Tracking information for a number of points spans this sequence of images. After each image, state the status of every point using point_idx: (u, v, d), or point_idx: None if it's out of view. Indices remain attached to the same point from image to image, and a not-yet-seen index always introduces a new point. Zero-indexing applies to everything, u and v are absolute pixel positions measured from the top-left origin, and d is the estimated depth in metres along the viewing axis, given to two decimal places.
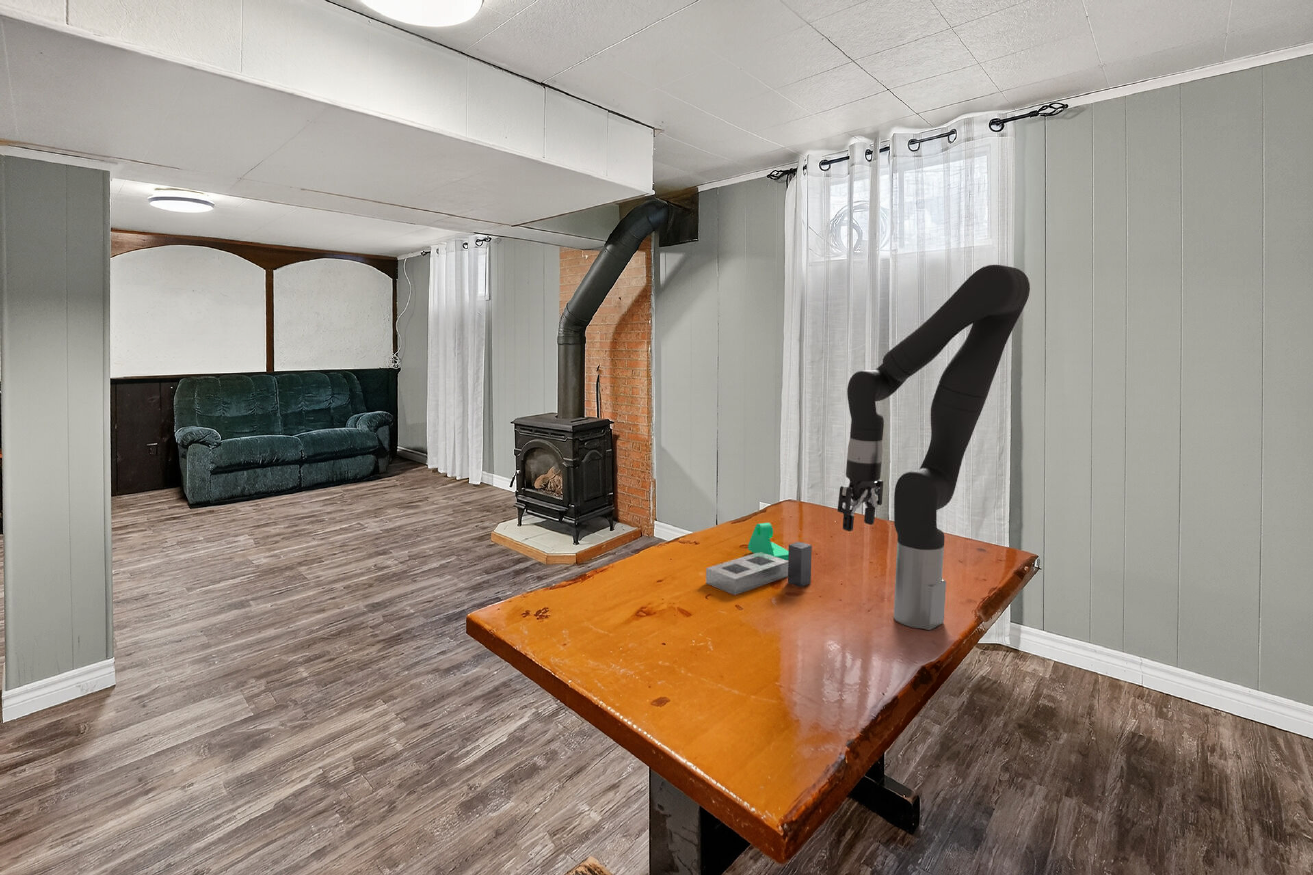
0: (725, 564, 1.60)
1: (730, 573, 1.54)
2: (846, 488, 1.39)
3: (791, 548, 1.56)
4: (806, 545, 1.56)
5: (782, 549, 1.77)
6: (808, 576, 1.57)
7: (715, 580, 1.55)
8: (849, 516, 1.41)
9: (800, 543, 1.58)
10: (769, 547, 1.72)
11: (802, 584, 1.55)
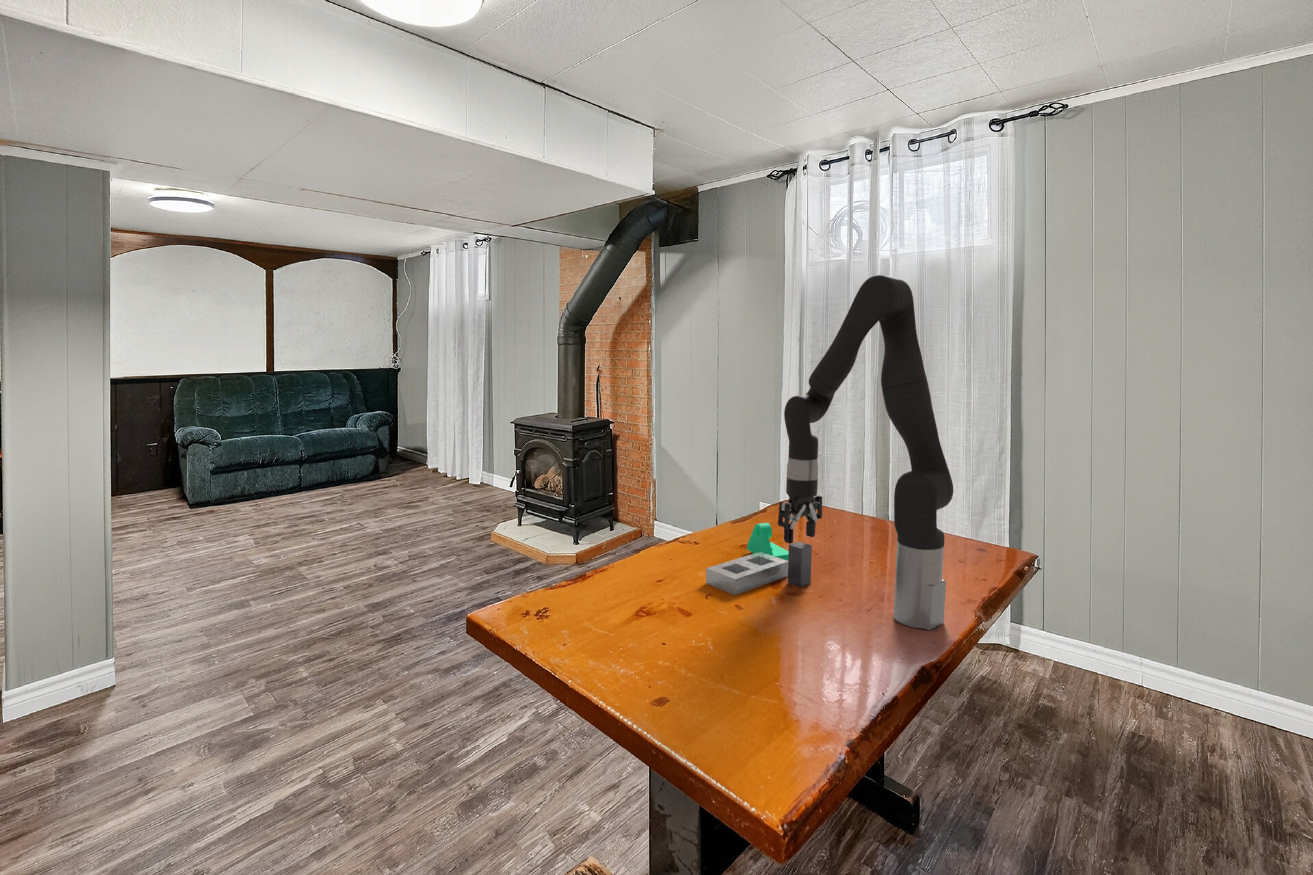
0: (725, 564, 1.60)
1: (730, 573, 1.54)
2: (784, 504, 1.51)
3: (791, 548, 1.56)
4: (806, 545, 1.56)
5: (781, 549, 1.77)
6: (808, 576, 1.57)
7: (715, 580, 1.55)
8: (789, 529, 1.52)
9: (800, 543, 1.58)
10: (768, 547, 1.72)
11: (802, 584, 1.55)
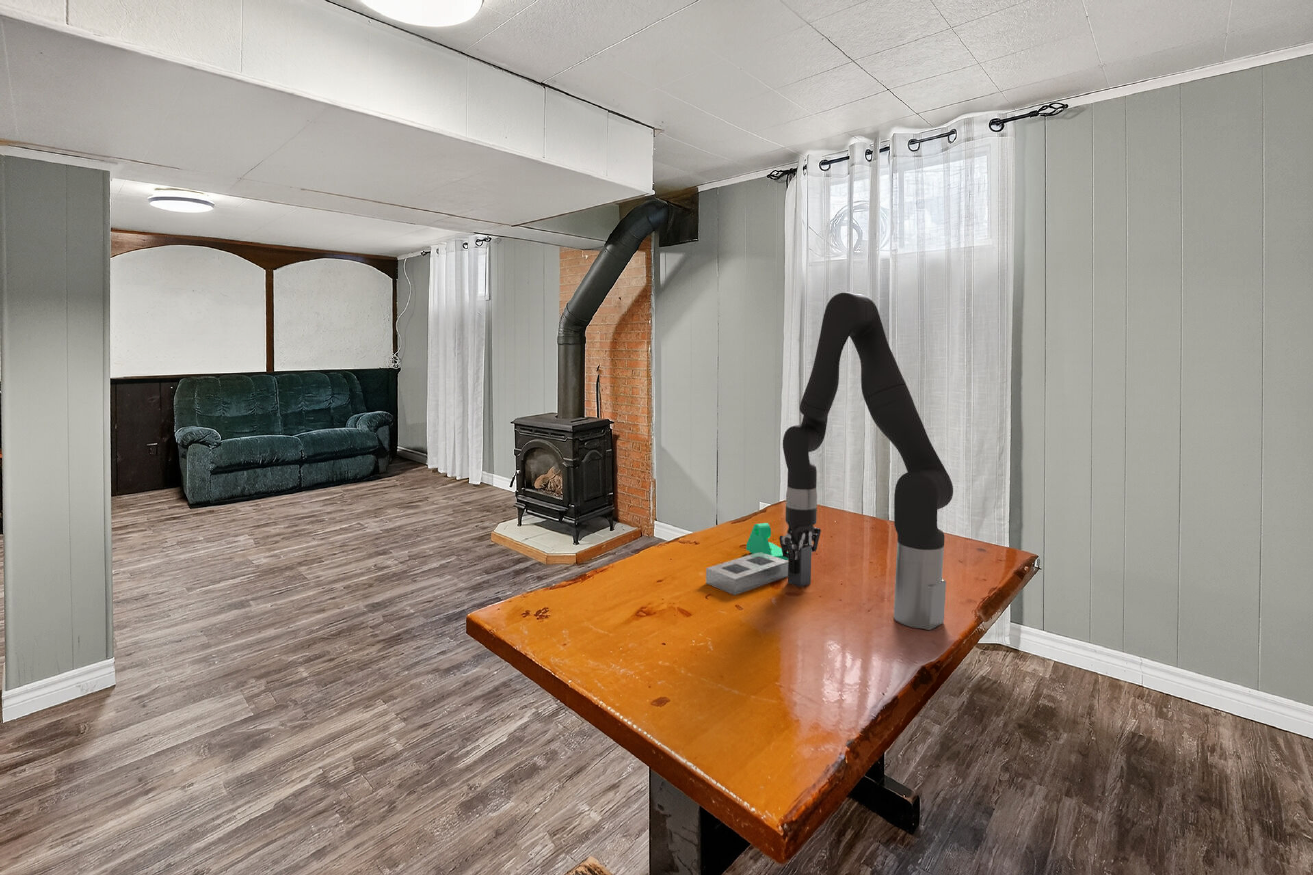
0: (725, 564, 1.60)
1: (730, 573, 1.54)
2: (784, 538, 1.52)
3: None
4: (806, 545, 1.56)
5: (780, 549, 1.77)
6: (808, 576, 1.57)
7: (715, 580, 1.55)
8: (794, 560, 1.55)
9: None
10: (767, 547, 1.72)
11: (802, 584, 1.56)
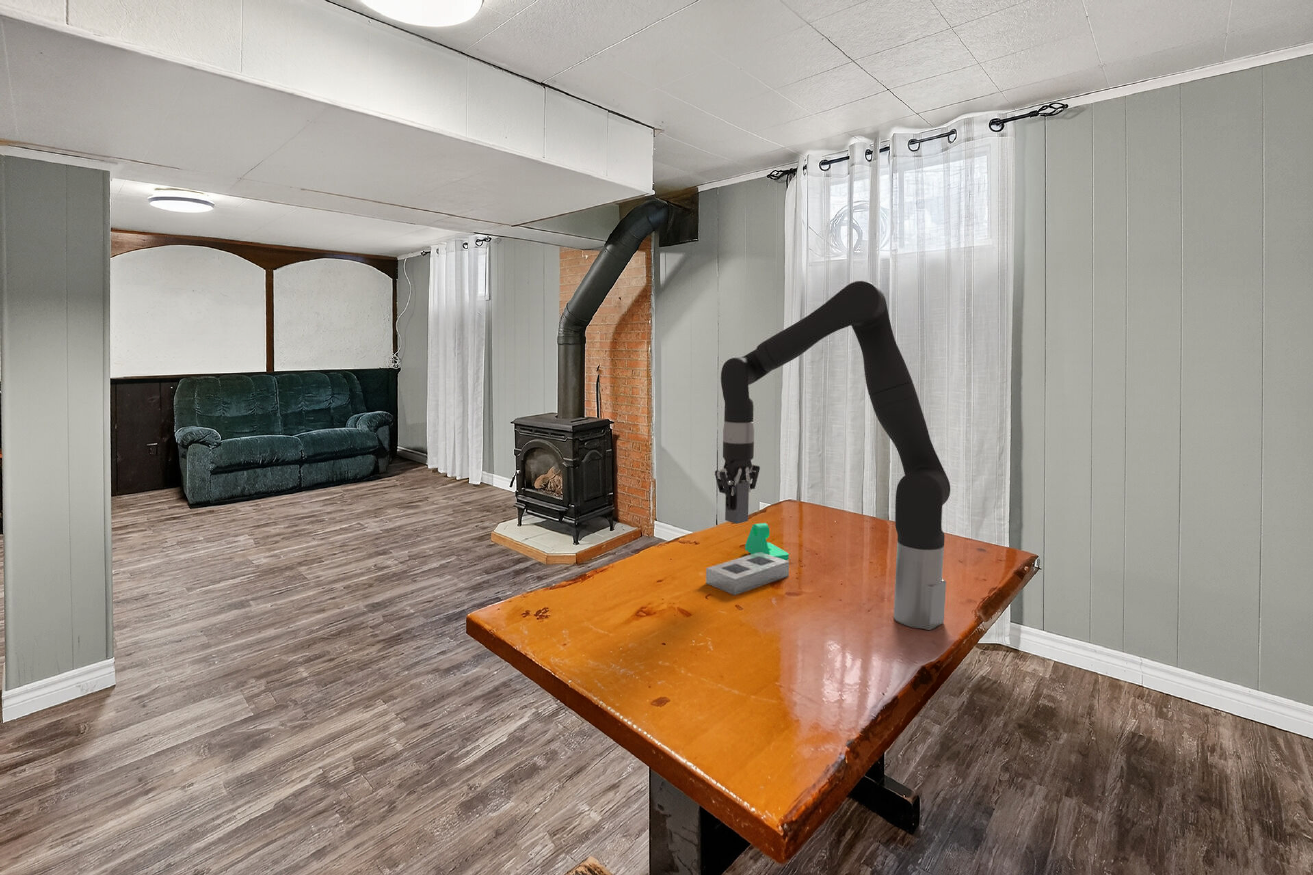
0: (725, 564, 1.60)
1: (730, 573, 1.54)
2: (719, 473, 1.50)
3: None
4: (743, 481, 1.54)
5: (779, 549, 1.77)
6: (745, 513, 1.55)
7: (715, 580, 1.55)
8: (730, 496, 1.52)
9: None
10: (765, 547, 1.72)
11: (738, 521, 1.53)
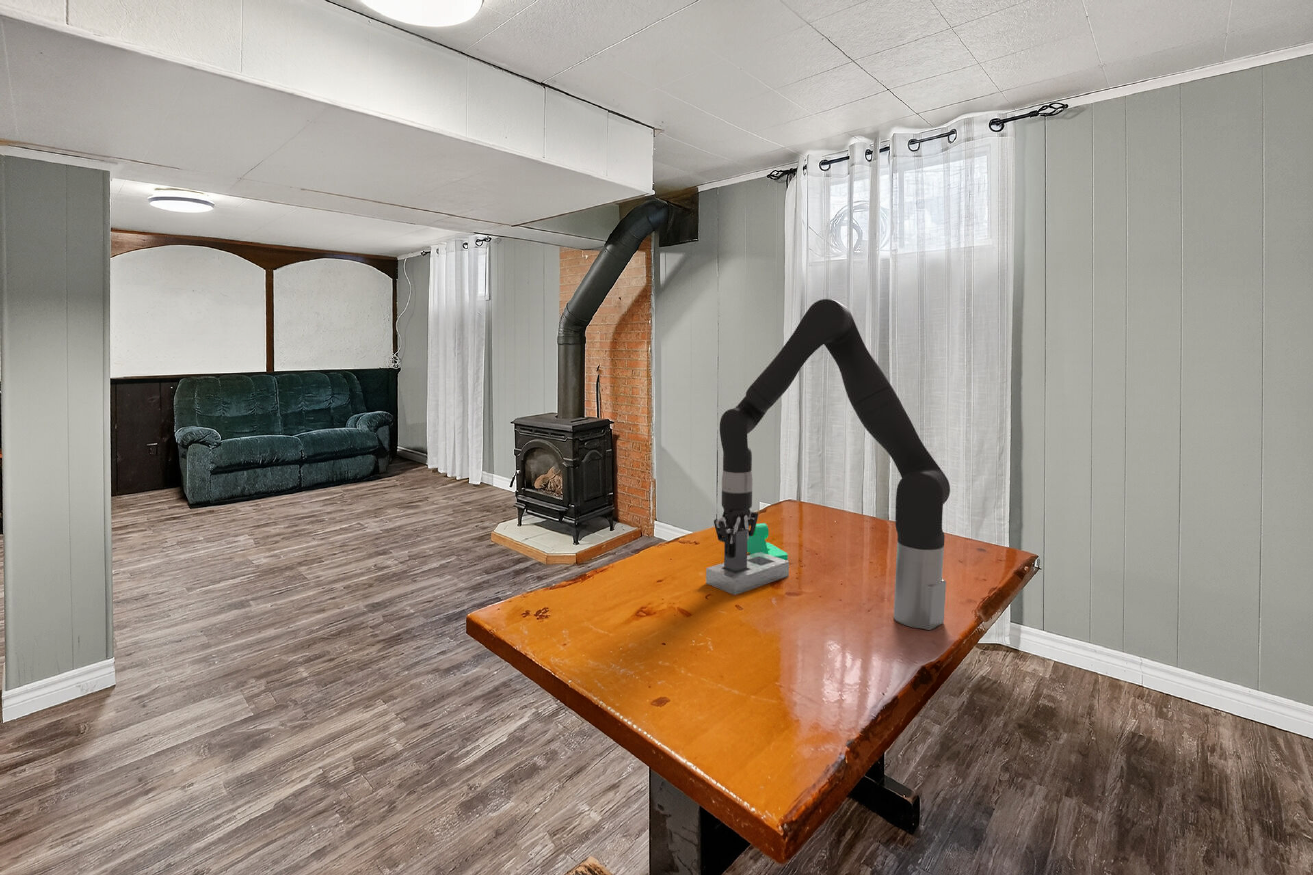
0: None
1: (730, 573, 1.54)
2: (718, 522, 1.51)
3: None
4: (742, 529, 1.56)
5: (778, 550, 1.77)
6: (744, 560, 1.56)
7: (715, 580, 1.55)
8: (729, 544, 1.54)
9: None
10: (764, 547, 1.72)
11: (737, 568, 1.55)
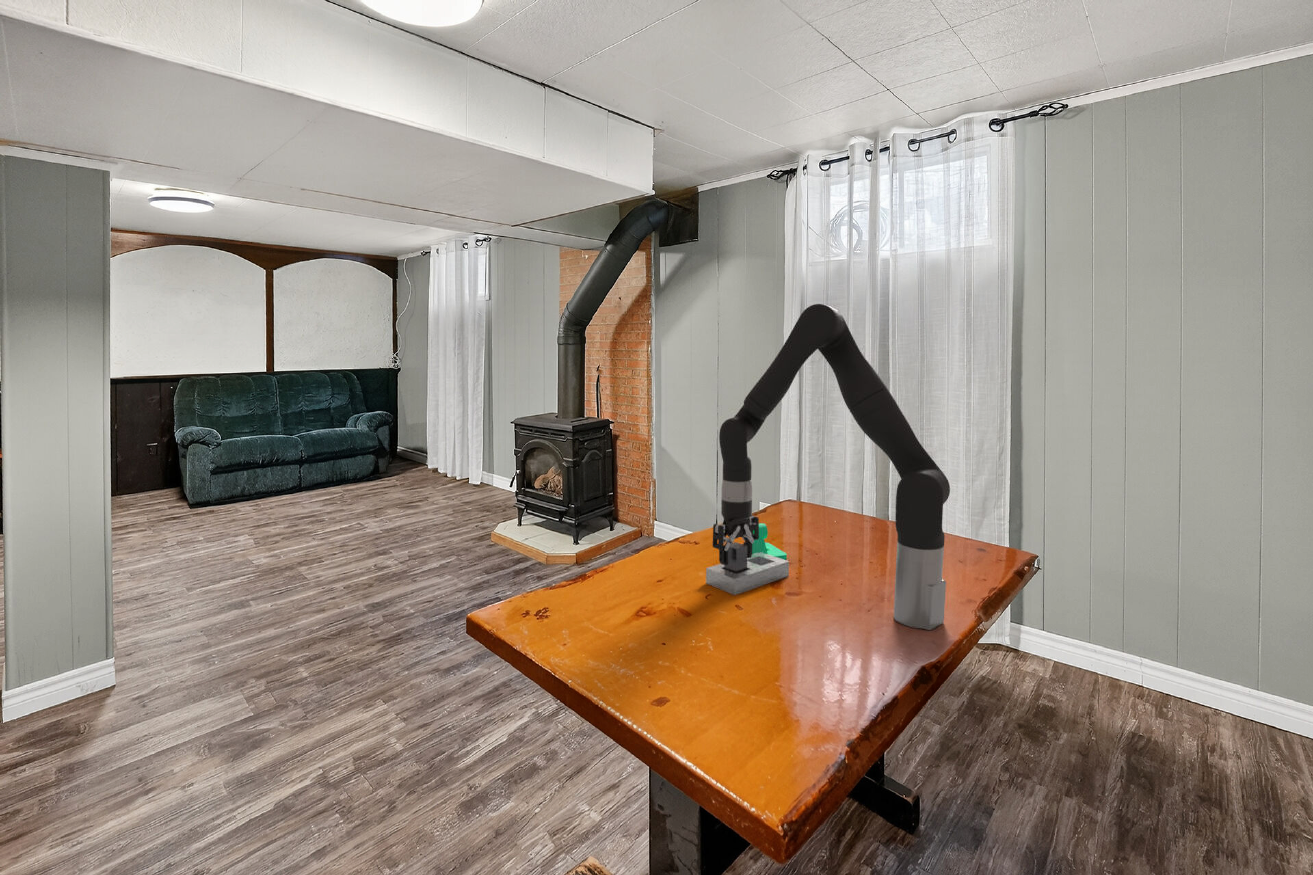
0: None
1: (730, 573, 1.54)
2: (718, 526, 1.51)
3: None
4: (742, 545, 1.56)
5: (777, 550, 1.77)
6: None
7: (715, 580, 1.55)
8: (723, 551, 1.53)
9: (736, 544, 1.58)
10: (763, 548, 1.72)
11: None
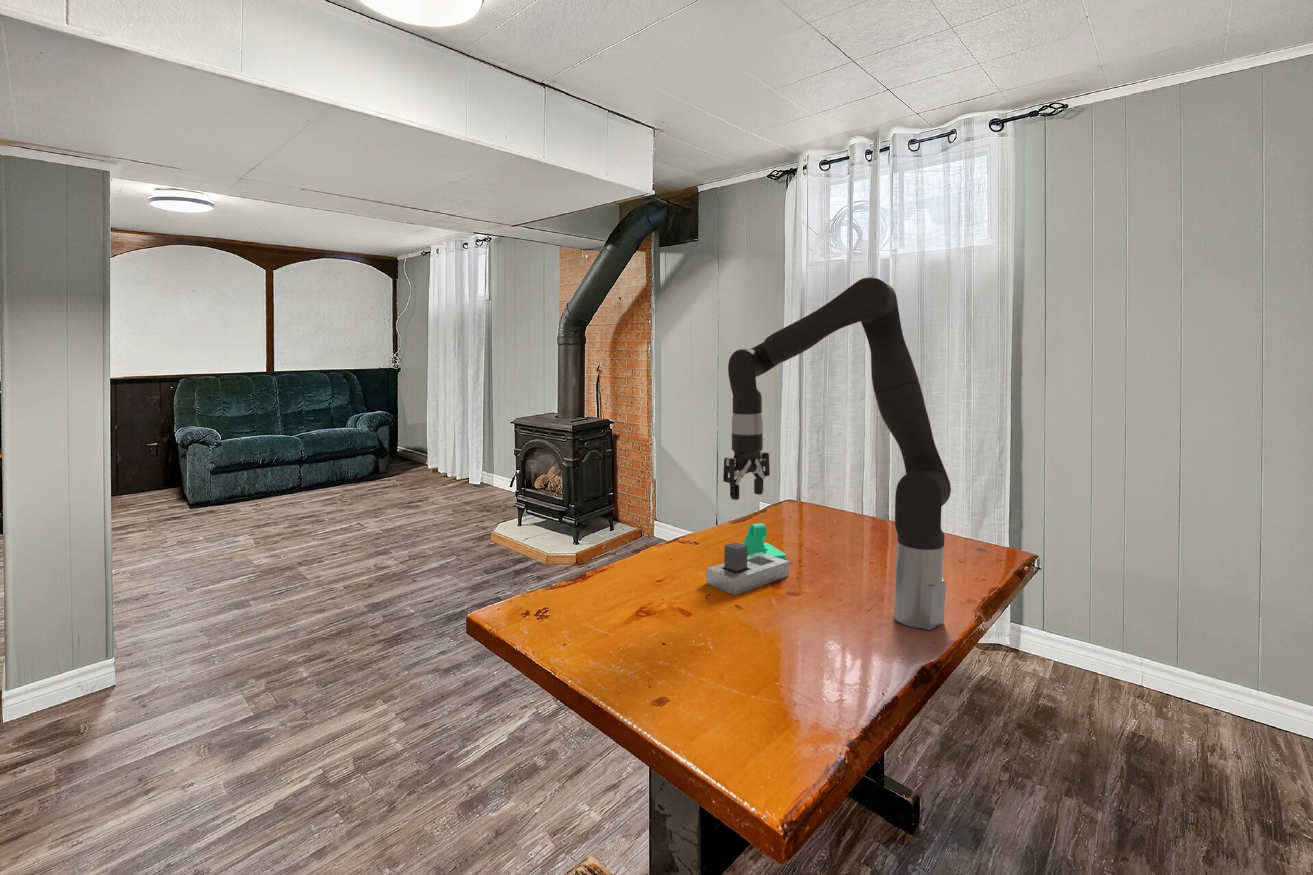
0: None
1: (730, 573, 1.54)
2: (729, 459, 1.49)
3: (727, 549, 1.56)
4: (742, 545, 1.56)
5: (776, 550, 1.76)
6: None
7: (715, 580, 1.55)
8: (734, 485, 1.51)
9: (736, 544, 1.58)
10: (762, 548, 1.71)
11: None
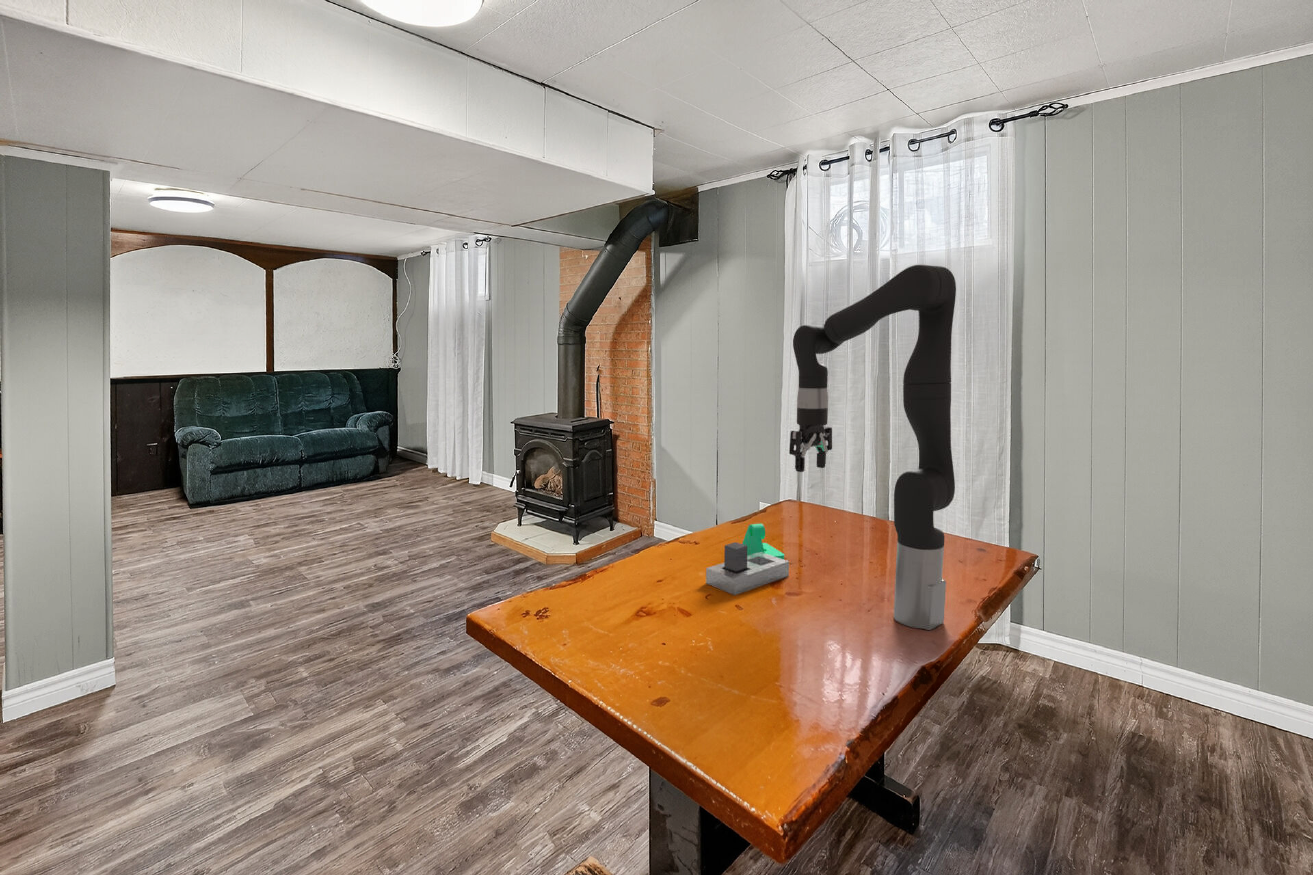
0: None
1: (730, 573, 1.54)
2: (796, 432, 1.54)
3: (727, 549, 1.56)
4: (742, 545, 1.56)
5: (775, 550, 1.76)
6: None
7: (715, 580, 1.55)
8: (800, 458, 1.55)
9: (736, 544, 1.58)
10: (760, 548, 1.71)
11: None
